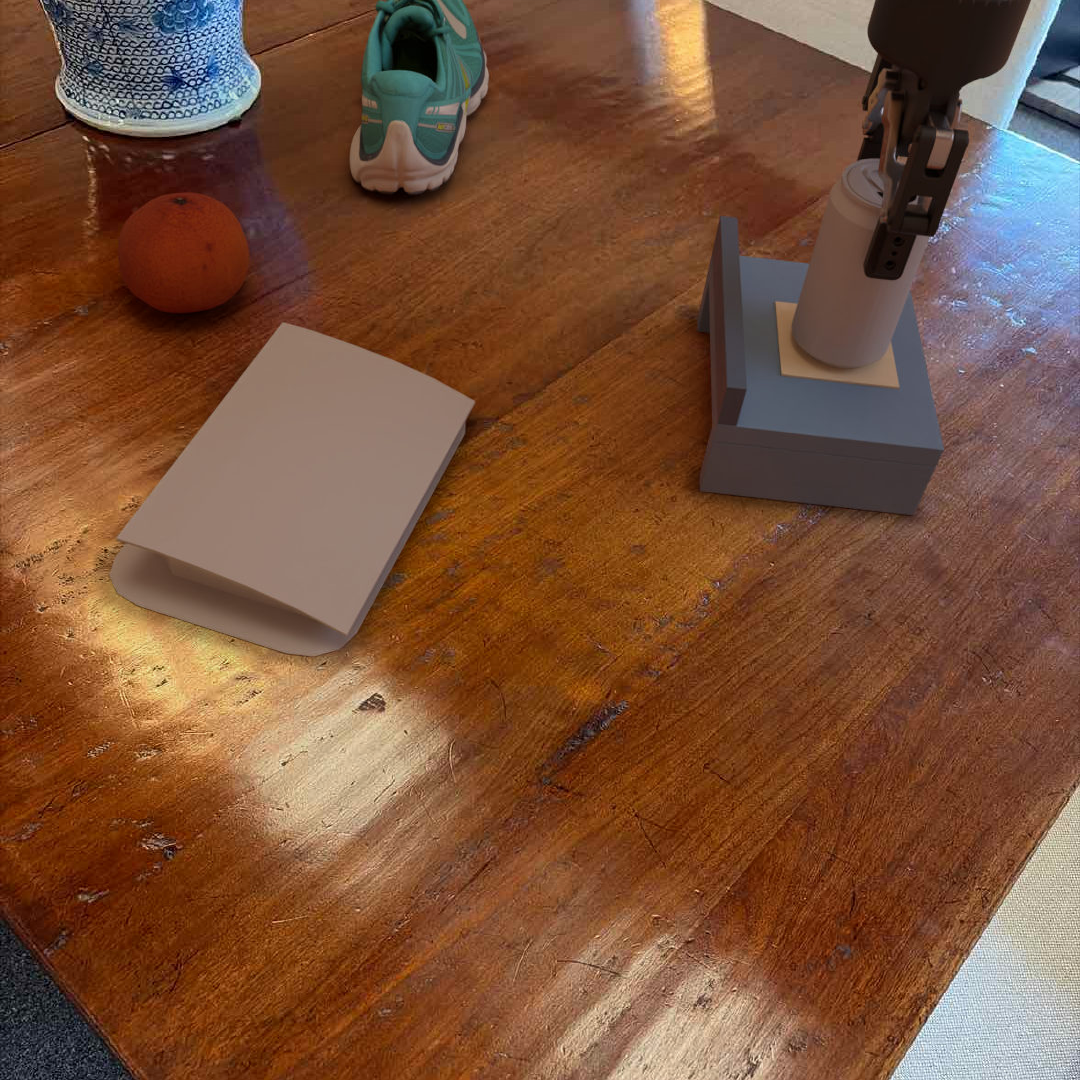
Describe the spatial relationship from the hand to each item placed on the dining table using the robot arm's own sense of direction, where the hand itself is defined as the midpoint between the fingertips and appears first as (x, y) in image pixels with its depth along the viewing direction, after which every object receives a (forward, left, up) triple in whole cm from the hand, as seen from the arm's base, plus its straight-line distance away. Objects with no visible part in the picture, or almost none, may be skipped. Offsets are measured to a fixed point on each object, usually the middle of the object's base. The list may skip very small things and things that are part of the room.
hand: (872, 233), depth 72 cm
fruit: (+45, -5, -15) cm, 48 cm away
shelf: (+1, 0, -15) cm, 15 cm away
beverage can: (0, 0, -9) cm, 9 cm away
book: (+33, +13, -15) cm, 38 cm away
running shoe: (+32, -33, -15) cm, 48 cm away
